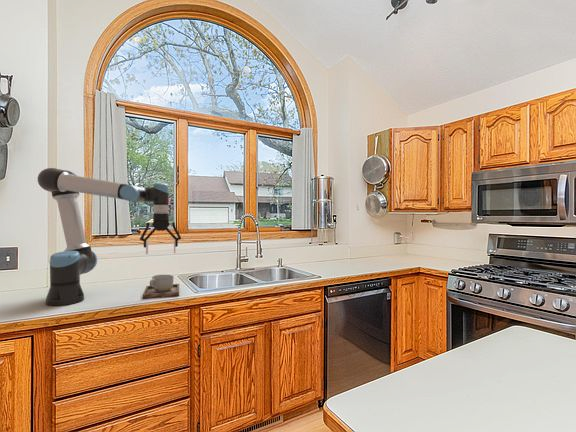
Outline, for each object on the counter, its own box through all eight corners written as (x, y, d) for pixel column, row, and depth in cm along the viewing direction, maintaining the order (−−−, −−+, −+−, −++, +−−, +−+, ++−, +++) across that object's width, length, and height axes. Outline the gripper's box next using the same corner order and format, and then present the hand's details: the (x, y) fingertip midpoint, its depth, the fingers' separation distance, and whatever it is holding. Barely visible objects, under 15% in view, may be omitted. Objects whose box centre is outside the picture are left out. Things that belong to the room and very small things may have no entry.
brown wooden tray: (142, 298, 160) (142, 294, 160) (146, 289, 179) (146, 285, 179) (179, 296, 165) (179, 292, 165) (179, 287, 184) (179, 283, 184)
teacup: (165, 287, 181) (165, 273, 181) (178, 290, 175) (178, 275, 175) (142, 292, 169) (142, 277, 169) (154, 295, 163) (154, 280, 163)
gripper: (134, 213, 164) (134, 255, 164) (186, 213, 172) (185, 253, 173) (135, 212, 171) (135, 253, 172) (185, 213, 179) (185, 251, 180)
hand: (160, 253), depth 172 cm, fingers open, 13 cm apart
